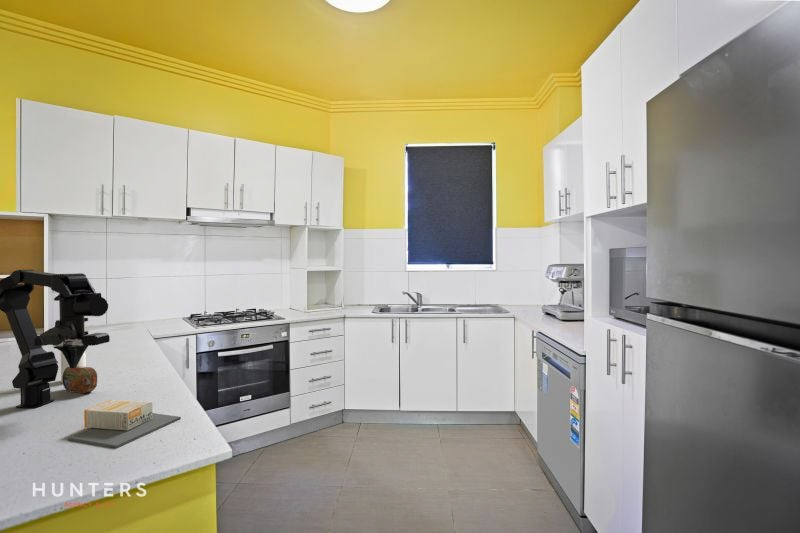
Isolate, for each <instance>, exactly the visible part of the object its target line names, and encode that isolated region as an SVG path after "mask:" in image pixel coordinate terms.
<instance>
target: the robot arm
mask: <svg viewBox="0 0 800 533" xmlns="http://www.w3.org/2000/svg"><path fill="white" fill-rule="evenodd" d="M35 286H40V287H46V288H50V289H51V291H53V292H56V293H58V295H57V296H55V297H54V298H53V301H54V302H55V301H56V302H59V306H58V307H59V311H58V312H59V319H58V320H55V322H54V327H51V328H49V329H47V330H46V331H43V332H42V333H41V334H39V335H38V333H37V330H36V327H35V326H34V322H33V320H32V317H31V315H30V311H29V310H28V307H29V306H28V305H29V302H30V300H31V296H30V295H31V293H32V292H33V291H34V290H35ZM108 310H109V303H108V300H106V299H105V297H102V293H101V292H97V291H96V290H95V288H94V287H93V286H92V283H91V282H90V281H89V279H88V278H87V275H86V274H84V273H82V272H81V273H59V274H58V273H52V272H45V271H39V270H35V269H16V270H14V271H12V273H11V274H9V275H8V276H5V277H4V278H2V279H1V280H0V311H1V312H2V313H5V315H6V318H7V320H8V321H7V322H8V323H9V326H10V329H11V331H12V333H13V336H14V339H15V342H16V345H17V347H18V349H19V352H20V355H21V358H20V360H19V363H18V367H17V368H18V373H17V374H16V376H15V377H13V379H12V380H11V384H12V387H13V388H14V389H20V404H18V405H15V408H16V409H17V408H18V409H19V408H21V409H23V408H24V409H35V408H38V407H42V406H43V405H46V404H50V403H52V402H54V401H55V399H54V398H51V387H50V382H55V381H56V380H57V375H58V373H59V372H58V371H59V365H58V364H59V361H58V360H57V357H56V355H55V352H53V351H52V350H51V351H47V350H46V349H44V348H43V346H45V347H46V346H52V347H53V349H57V350H58V351H60V353H61V352H62V353H63V354H64V356H65V358H66V360H67V362H68V364H69V366H70V368H76V367H77V365H78V363H79V361H80V359H81V357H82V355H83V353H84V352H85V350H86V351H87V349H88V347H89V346H99V345H103V344H106V343H110V342H111V340H110V335H109V333H108V332H94V333H90V334H89V331H88V330H86V322H89V317H102V316H104V315H105V314H106V313H107V311H108ZM84 316H85V318H84Z"/></svg>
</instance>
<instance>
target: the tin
mask: <svg viewBox="0 0 800 533" xmlns="http://www.w3.org/2000/svg"><path fill="white" fill-rule="evenodd" d="M62 381H63V383H62V384H63V387H64V389H65V391H66V392H70V391H71V393H76V392H78V394H86V393H87V394H88V393H89V392H90V393H91V392H93V391H94V390H95V389H96V388H97V387H98V386H97V384H98V373H97V371H96V369H94V367H90V366H86V367H83V366H77V367H76V368H70V367H67V368H66V369H65V370H64V373H63V377H62Z"/></svg>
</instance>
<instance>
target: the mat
mask: <svg viewBox="0 0 800 533" xmlns="http://www.w3.org/2000/svg"><path fill="white" fill-rule="evenodd" d="M181 419H182V418H181V416H177V415H170V414H162V413H155V412H152V419H151V420H148V421H146V422H144V423H142V424H140V425H138V426H136V427H134V428H132V429H130V430H114V429H100V428H88V429H86V430H84V431H81V432H79V433H76V434H74V435H71V436H68V439H67V440H68V441H74V442H80V443H85V444H91V445H96V446H101V447H108V448H114V449H118V448H121V447H122V446H125V445H127V444H129V443H131V442H134V441H135V440H138V439H140V438H142V437H144V436H146V435H149V434H151V433H153V432H156V431H158V430H159V429H163V428H164V427H166V426H168V425H171V424H172V423H174V422H177V421H180V420H181Z"/></svg>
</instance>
